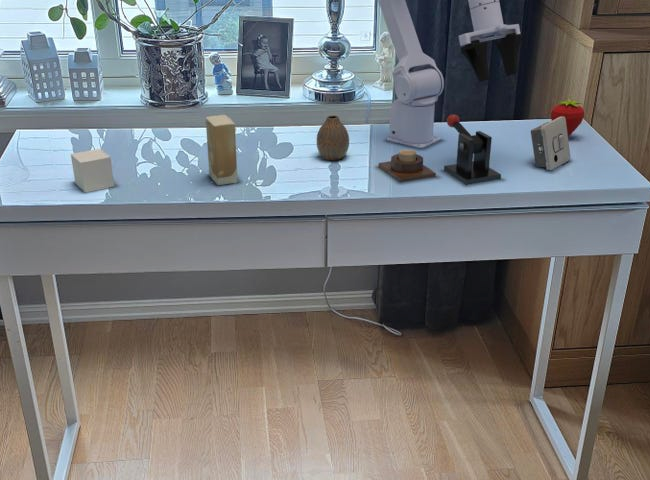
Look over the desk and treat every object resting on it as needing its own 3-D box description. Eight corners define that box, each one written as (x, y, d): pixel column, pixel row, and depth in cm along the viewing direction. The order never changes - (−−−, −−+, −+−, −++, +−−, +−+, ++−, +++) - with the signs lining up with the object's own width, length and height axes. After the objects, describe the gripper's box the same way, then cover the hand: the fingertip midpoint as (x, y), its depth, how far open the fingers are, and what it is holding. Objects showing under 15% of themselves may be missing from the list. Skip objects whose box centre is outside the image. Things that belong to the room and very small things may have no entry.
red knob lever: (443, 123, 186) (445, 112, 184) (454, 122, 187) (456, 111, 185) (470, 154, 179) (473, 143, 177) (482, 152, 180) (484, 141, 178)
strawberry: (544, 134, 206) (549, 90, 201) (576, 133, 206) (583, 89, 201) (551, 142, 201) (557, 97, 196) (584, 141, 201) (591, 96, 196)
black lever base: (443, 171, 185) (446, 131, 181) (477, 165, 188) (480, 126, 183) (466, 185, 178) (469, 144, 174) (500, 179, 181) (504, 139, 176)
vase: (353, 154, 194) (353, 113, 189) (343, 164, 189) (343, 123, 184) (323, 150, 196) (322, 110, 191) (312, 160, 190) (311, 119, 186)
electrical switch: (550, 172, 184) (552, 127, 180) (527, 169, 187) (528, 124, 183) (570, 160, 191) (573, 116, 186) (548, 158, 194) (550, 114, 189)
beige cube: (75, 183, 179) (70, 153, 176) (104, 177, 182) (100, 148, 179) (85, 192, 175) (80, 162, 172) (114, 186, 178) (110, 157, 175)
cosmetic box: (208, 175, 183) (204, 116, 176) (229, 172, 184) (225, 113, 178) (217, 186, 178) (213, 125, 171) (238, 183, 179) (235, 122, 173)
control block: (378, 167, 187) (378, 153, 185) (412, 162, 190) (412, 148, 188) (400, 183, 179) (401, 168, 178) (435, 177, 182) (436, 163, 180)
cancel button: (395, 158, 184) (395, 150, 183) (410, 156, 185) (411, 148, 184) (403, 164, 181) (403, 155, 180) (419, 161, 182) (419, 153, 181)
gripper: (471, 4, 166) (485, 79, 169) (525, -4, 173) (538, 68, 176) (446, 14, 172) (460, 87, 175) (500, 6, 179) (512, 75, 182)
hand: (498, 78), depth 176 cm, fingers open, 7 cm apart
